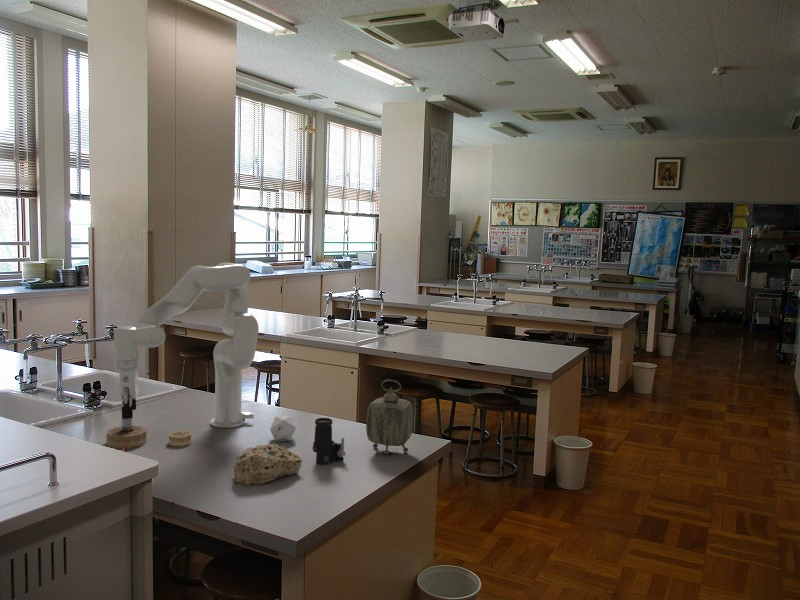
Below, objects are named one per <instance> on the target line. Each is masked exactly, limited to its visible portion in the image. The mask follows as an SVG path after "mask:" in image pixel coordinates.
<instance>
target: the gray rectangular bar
mask: <svg viewBox="0 0 800 600" xmlns="http://www.w3.org/2000/svg"><path fill="white" fill-rule="evenodd" d="M132 425H133V418H130V419H122V418H121V426H122V433H129V432H132Z"/></svg>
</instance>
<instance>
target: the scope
mask: <svg viewBox="0 0 800 600" xmlns="http://www.w3.org/2000/svg"><path fill="white" fill-rule="evenodd" d="M314 423H315V427H314V441H313V443H312V445H313V446H312V451H313V453H315V456H316V457H315V459H316V460H315V464H317V465H319V466H325V465H329V464H330V463H333V462H338V461H339V462H338V463H340V462H342V461H344V457H345V456H346V451H345V450H344V449H345V438H344V437H341V438H340V439H341V442H339V443H338V442H335V440H333V428H332V427H333V426H332V425H333V419H331V417H330V418H329V417H318V418H316V419H315V420H314ZM332 461H333V462H332Z"/></svg>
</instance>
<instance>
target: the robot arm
mask: <svg viewBox="0 0 800 600" xmlns="http://www.w3.org/2000/svg"><path fill="white" fill-rule="evenodd" d="M251 275H252V274H251V271H250V269H249V268H248V267H247V266H246V265H244V264H240V263H233V262H220V263H218V264H217V265H216V266H205V265H193V266H192V267H190V268H189V269H188V270H187V271H186V272H185V274H183V276H182V277H181V278H180V280H178V282H177V283H175V285H174V287H173V288H171V290H170V291H169V292H168V293H167V294H166V295H165V296H164V297H162V298H160V299H159V300H158V301H156V302H155V303H154V304H152V305H151V306H150V307H149V308H147V309H146V310H145V311H144V312H143V313H142V314H141V316H140V317H139V318H138V319H137V321H135V323H134V324H133V326H132V325H123V326H118V327H116V328H115V329H114V331H113V342H114V343H113V344H114V369H115V370H116V371H118V381H119V398H120V400H121V420H122V419H130V418H132V419H133V418H134V413H133V412H134V411H135V410H137V398H138V396H139V393H140V388H139V373H138V369H140V367H141V366H140V365H141V360H140V359H141V358H140V348H157V347H159V346H161V345H163V343H164V342H165V340H166V332H165V330H164V329H163V328H162V327H161V325H162V324H164V322H166V321H167V320H169V319H171V318H172V317H175V316H178V315H180V314H181V315H182V314H184V313H185V312H187V311H188V310H189V309H190V308H191V307H192V306H193V304H194V303H195V301H197V299H198V298H199V297H200V296H201V295H202V294H203V292H204V291H205V292H220V291H223V292H224V296H225V299H224V306H223V313H222V320H221V330H222V332H223V333H224V334H225V335H227V336H230V337H232V339H231V338H226V339H222V340H221V339H220V341H218V342H217V343H216V344H215V346H214V348H213V354H212V356H213V364H214V370H215V371H214V373H215V375H214V376H215V377H214V379H215V380H214V381H215V384H214V386H215V387H214V391H215V392H214V417H213V418H212V419H210V425H211V426H212V427H214V428H220V429H230V428H231V429H232V428H233V429H234V428H237V427H241V426H243V425H245V423H246V419H250V420H251V419H255V417H254V416H255V415H254V412H253V413H252V412H250V411H249V412H245V411H243V409H242V396H243V395H242V387H243V386H242V385H243V375H242V370H245V369H248V368H249V367H250V366H251V365H252V363H253V362H254V359H255V355H256V350H257V344H258V336H259V323H258V320H257V318H256V317H255V316H254V315H252V314H250V313H248V312H249V302H250V295H249V290H248V287H247V285H248V284H249V283H250V281H251V277H252V276H251Z"/></svg>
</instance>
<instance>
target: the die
mask: <svg viewBox="0 0 800 600" xmlns="http://www.w3.org/2000/svg"><path fill="white" fill-rule="evenodd" d="M296 429H297V427H296V425H295V423H294V420H293V418H292V417H291V416H290V415H287V416H286V415H283V416H274V419H273V421H272V423H271V425H270V428H269V430H270V433H271V436H272V438H273V440H274V442H291V441H292V439H293V437H294V434H295V432H296Z"/></svg>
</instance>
